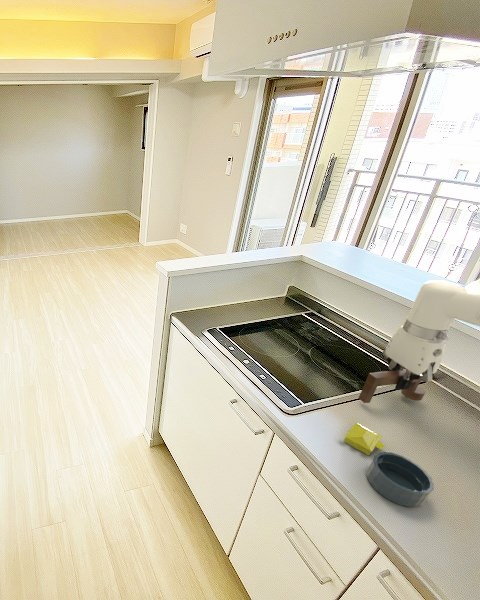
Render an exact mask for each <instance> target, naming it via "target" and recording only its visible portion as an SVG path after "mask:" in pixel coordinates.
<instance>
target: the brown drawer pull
mask: <svg viewBox="0 0 480 600" xmlns="http://www.w3.org/2000/svg"><path fill="white" fill-rule="evenodd" d="M406 370H407V369H406V368H404V369H401V370H395V371H388V370H387V371H377V372H369V373H368V375H367V377H366V380H365V383H364V384H363V387H362V389H361V391H360V393H359V396H358V400H360V401H361V402H362V403H364V404H368V403H371V401H372V399H373V397H374V394H375V392H376V391H377V388H378V387H385V386H393V385H397V383H398V381H399V379H400V378H401V377H403V376H404V374H405V372H406ZM422 375H423V373H422ZM421 382H422V381H421V380H418V379H416V380H413V381H412V383H411V385H410V387H409V388H408V389H404V390H400V393H401V395H402V396H404V398H407V399H409V400H412V401H417V402H419V401H422V400H423V399H424V397H425V395H426V393H427V392H426V389H425V388H424V387H422V386H420V385H419V384H420V383H421Z"/></svg>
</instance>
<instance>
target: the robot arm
mask: <svg viewBox="0 0 480 600" xmlns="http://www.w3.org/2000/svg"><path fill="white" fill-rule="evenodd" d="M455 319H456V320H458V321H461V322H464V323H467V324H470V325H473V326H477V327H480V278H478V279H476V280H475V281H472V282H470V283H469V284H467V285H466V286H462V285H460V284H458V283H455V282H451V281H448V280H447V281H446V280H435V279H434V280H428V281H425V282H424V283H423V284H422V285H421V286H420V289H419V291H418V293H417V295H416V297H415V298H414V301H413V303H412V306H411V308H410V311H409V312H408V315H407V317H406V318H405V321H404V323H403V324H402V325H400V326H399V327H398V328H397V330H396V331H395V332H394V333H393V335H392V336H391V338H390V340H389V341H388V343H387V345H386V347H385V349H384V350H383V351H382V355H383V356H384V358H386V361H387V363H388V366H387V368H388V369H389V371H395V370H402V368H404V369H407V370H406V372H405V374H404V376H403V377H401V378H400V379H399V381H398V383H397V384H395V387H394V389H395V390H396V391H401V390H404V389H408V388H409V387H410V385H411V383H412V381H413V380H416V379H418V380H421V382H425V383H429V382H430V383H431V382H433V374H436V373H437V372H438V369H439V367H440V366H441V363H442V361H443V358H444V356H445V353H446V348H447V341H449V340H450V339H451V336H450V335H448V332H449V329H450V328H451V325H452V323H453V321H454V320H455ZM422 373H423V375H422Z"/></svg>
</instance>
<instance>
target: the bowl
mask: <svg viewBox="0 0 480 600" xmlns="http://www.w3.org/2000/svg"><path fill="white" fill-rule="evenodd" d="M365 474H366V478H367V480H368V481H369V483H370V485H371V487H373V488H374V490H375V491H377V492H378V493H379V494H380V495H381V496H382V497H384V498H385V499H387V500H389V501H391V502H393V503H394V504H398V505H401V506H404V507H412V508H415V507H420V506H421V505H423V504H424V503H425V502H426V500H427V499H428V498H429V496H430V495H431V494H432V492H433V491H434V487H435V484H434V482H433V478H432V477H431V476H430V474H429V473H428V472H427V471H426V470H425V469H423V468H422V467H421V466H420V465H419V464H417V462H414V461H413V460H411V459H409V458H407V457H405V456H403V455H402V454H401V455H400V454H397V453H395V452H389V451H380V452H377V453H375V454H373V457H372V459H371V460H370V462H369V464H368V466H367V468H366V471H365Z"/></svg>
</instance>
